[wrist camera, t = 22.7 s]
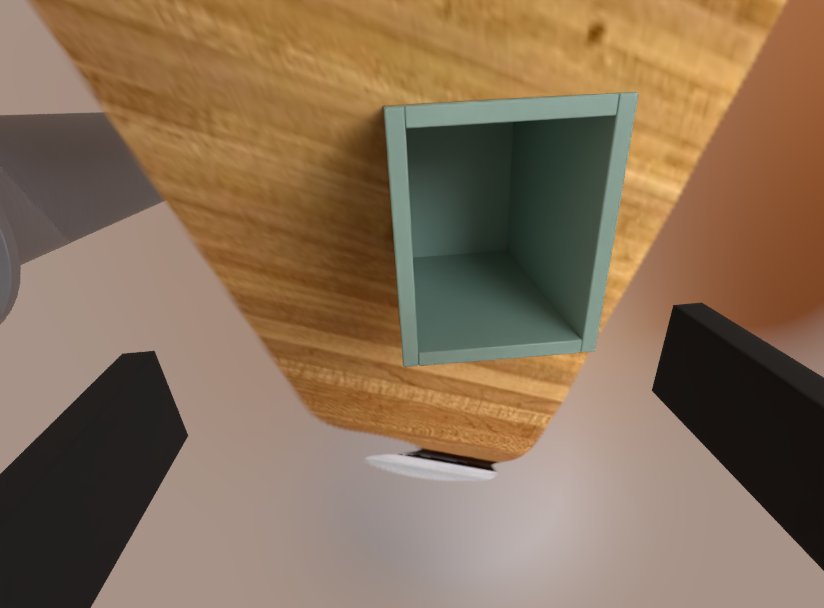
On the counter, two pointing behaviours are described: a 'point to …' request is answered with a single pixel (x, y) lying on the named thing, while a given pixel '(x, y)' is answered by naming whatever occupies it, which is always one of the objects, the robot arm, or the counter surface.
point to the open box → (504, 222)
